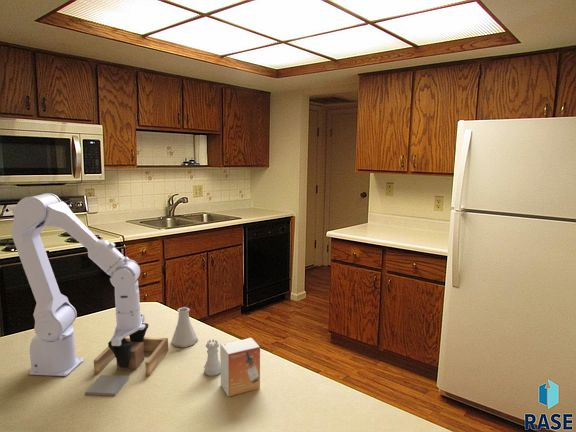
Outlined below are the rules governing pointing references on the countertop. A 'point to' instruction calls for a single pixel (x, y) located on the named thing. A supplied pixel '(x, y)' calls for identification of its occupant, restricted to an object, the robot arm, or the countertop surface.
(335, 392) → the countertop surface
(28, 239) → the robot arm
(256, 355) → the small box
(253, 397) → the countertop surface
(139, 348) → the walnut block
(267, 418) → the countertop surface
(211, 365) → the rook chess piece
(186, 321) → the flask
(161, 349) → the oak bracket
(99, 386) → the slate coaster
